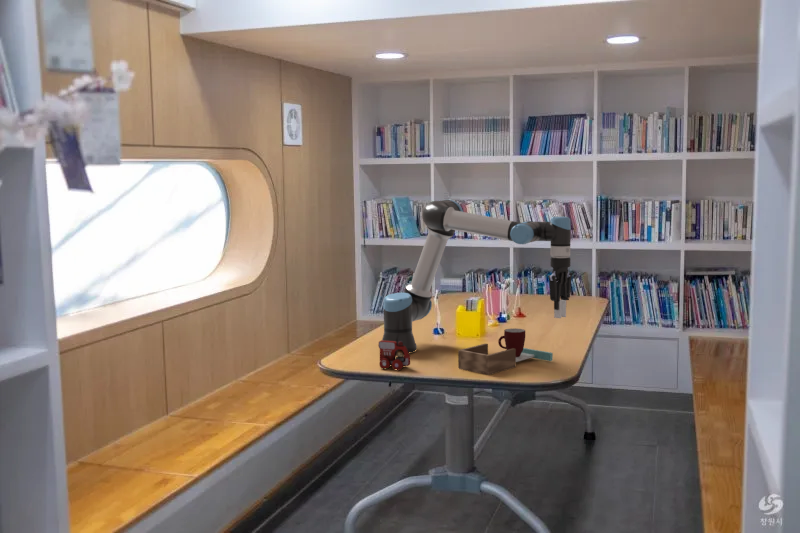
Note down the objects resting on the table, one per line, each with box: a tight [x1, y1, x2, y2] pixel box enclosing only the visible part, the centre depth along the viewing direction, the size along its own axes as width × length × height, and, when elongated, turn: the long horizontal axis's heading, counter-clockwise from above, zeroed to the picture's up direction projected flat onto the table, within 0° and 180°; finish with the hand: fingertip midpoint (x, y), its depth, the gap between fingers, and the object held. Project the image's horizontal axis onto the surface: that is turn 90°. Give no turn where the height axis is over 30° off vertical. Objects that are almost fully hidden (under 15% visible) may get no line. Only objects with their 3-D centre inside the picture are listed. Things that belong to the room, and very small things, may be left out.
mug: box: [497, 327, 526, 357], centre depth 308 cm, size 11×8×10 cm
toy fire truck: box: [378, 339, 411, 371], centre depth 300 cm, size 7×12×10 cm, turn 67°
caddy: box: [457, 343, 517, 376], centre depth 298 cm, size 14×16×7 cm
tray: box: [516, 347, 554, 363], centre depth 307 cm, size 20×16×3 cm
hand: (560, 317), depth 309 cm, fingers open, 3 cm apart
